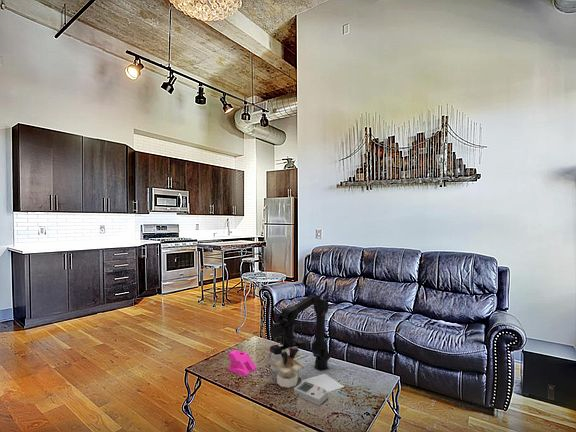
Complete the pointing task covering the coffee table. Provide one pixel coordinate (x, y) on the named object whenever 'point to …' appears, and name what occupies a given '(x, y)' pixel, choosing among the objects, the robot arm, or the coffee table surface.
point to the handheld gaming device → (311, 392)
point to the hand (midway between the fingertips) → (287, 363)
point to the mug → (273, 359)
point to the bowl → (287, 379)
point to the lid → (288, 365)
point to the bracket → (241, 363)
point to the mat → (324, 382)
